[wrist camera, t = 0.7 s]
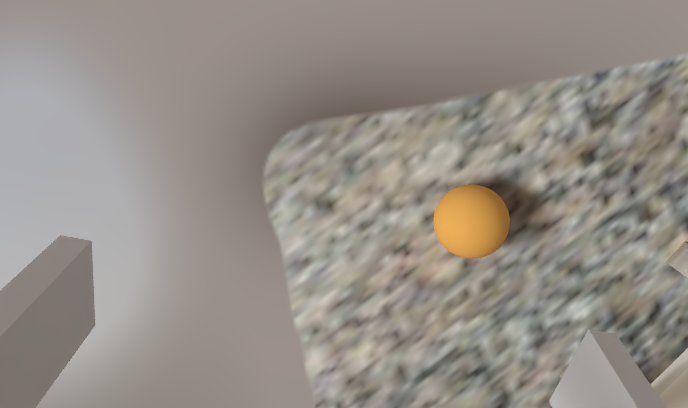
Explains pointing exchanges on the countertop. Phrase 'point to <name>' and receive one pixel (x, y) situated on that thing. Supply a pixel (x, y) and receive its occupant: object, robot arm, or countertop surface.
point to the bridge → (684, 373)
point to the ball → (471, 221)
